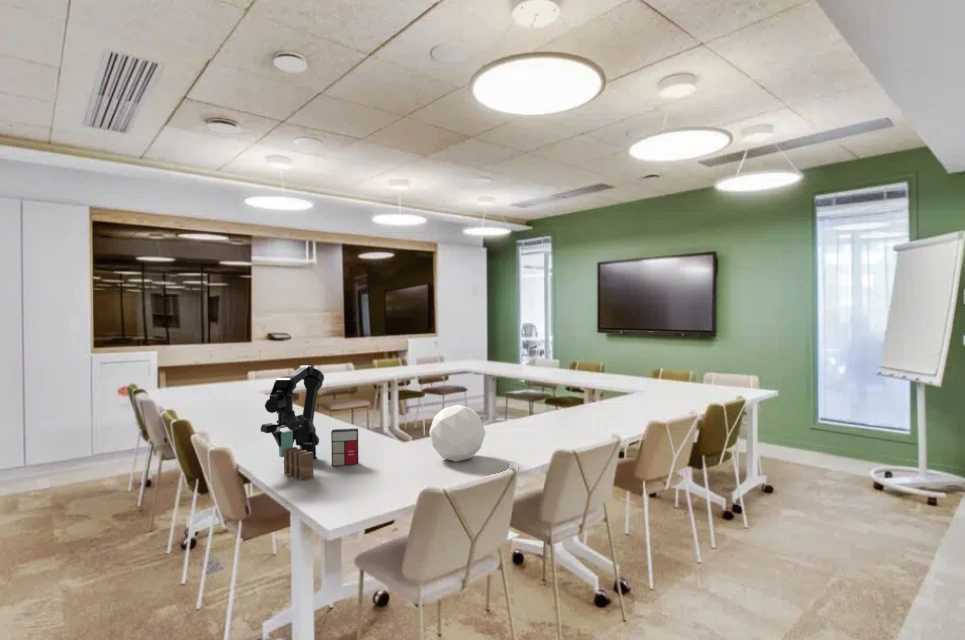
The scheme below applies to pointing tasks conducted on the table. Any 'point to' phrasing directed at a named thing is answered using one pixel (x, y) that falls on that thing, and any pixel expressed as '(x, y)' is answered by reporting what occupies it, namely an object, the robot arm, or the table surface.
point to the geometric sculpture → (457, 433)
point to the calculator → (344, 447)
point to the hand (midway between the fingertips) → (286, 445)
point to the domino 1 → (286, 441)
